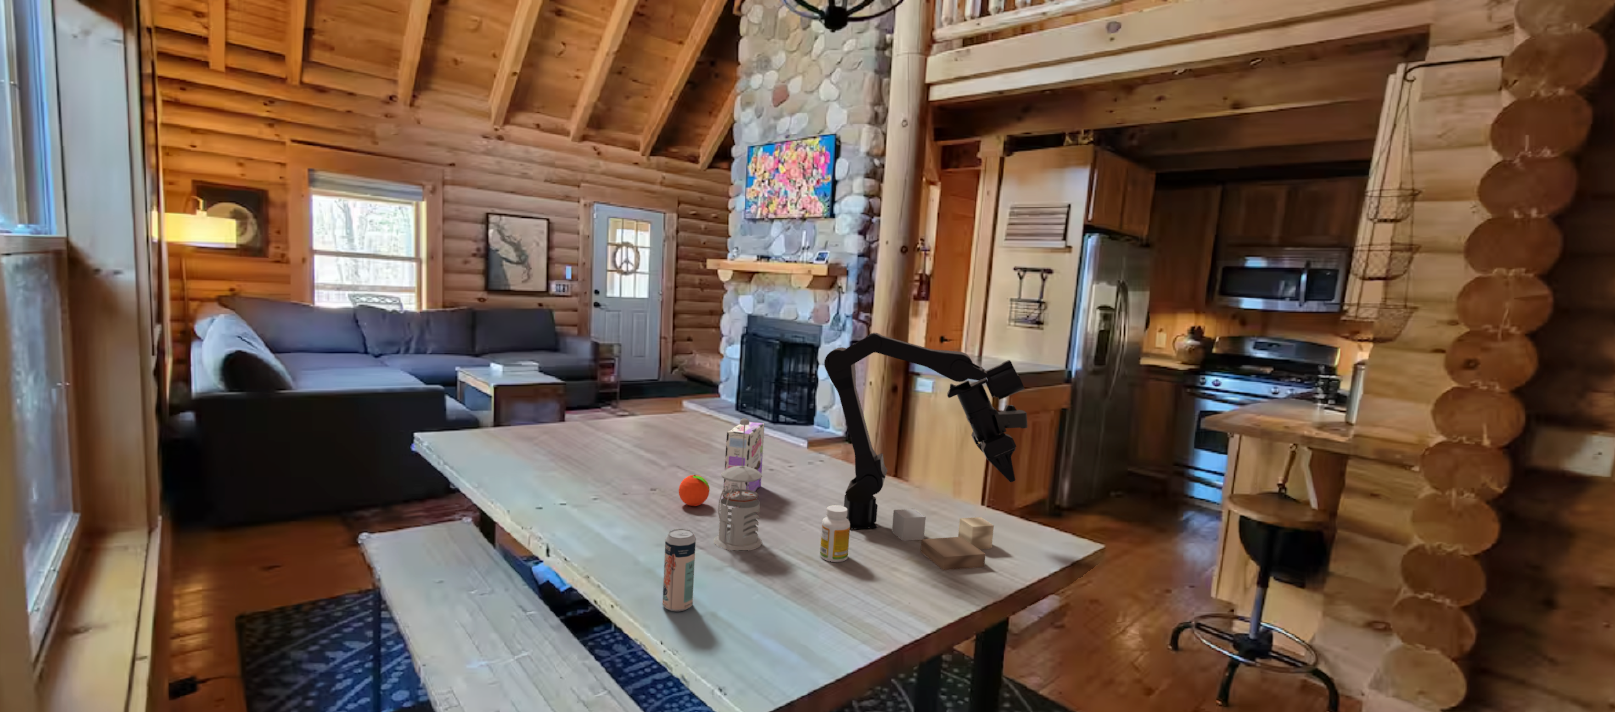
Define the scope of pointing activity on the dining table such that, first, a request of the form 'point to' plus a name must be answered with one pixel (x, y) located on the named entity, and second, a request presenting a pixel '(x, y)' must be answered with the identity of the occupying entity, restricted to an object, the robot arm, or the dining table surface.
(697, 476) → the clementine
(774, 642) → the dining table surface
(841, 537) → the supplement bottle
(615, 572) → the dining table surface
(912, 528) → the grey cube
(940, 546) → the walnut block
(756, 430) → the candy box
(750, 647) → the dining table surface
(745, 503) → the french press
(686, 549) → the beer can
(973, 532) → the maple cube
